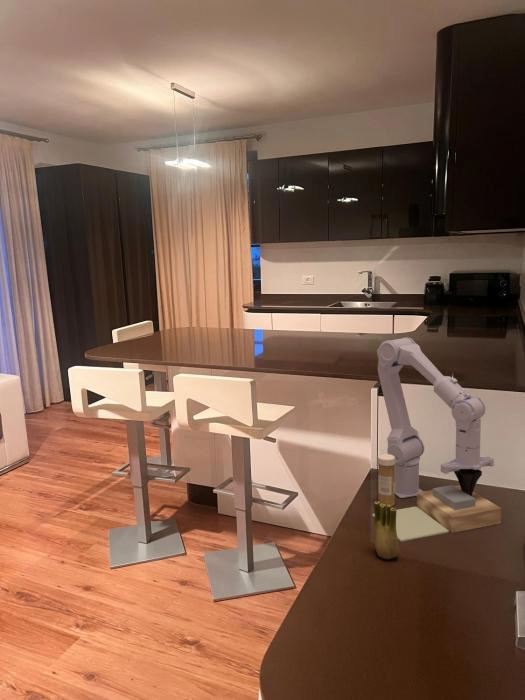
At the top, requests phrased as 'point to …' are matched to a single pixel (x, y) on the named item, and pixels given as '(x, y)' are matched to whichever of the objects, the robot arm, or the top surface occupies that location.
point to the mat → (415, 524)
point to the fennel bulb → (385, 531)
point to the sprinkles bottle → (386, 479)
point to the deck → (459, 512)
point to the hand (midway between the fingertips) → (466, 495)
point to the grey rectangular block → (454, 497)
